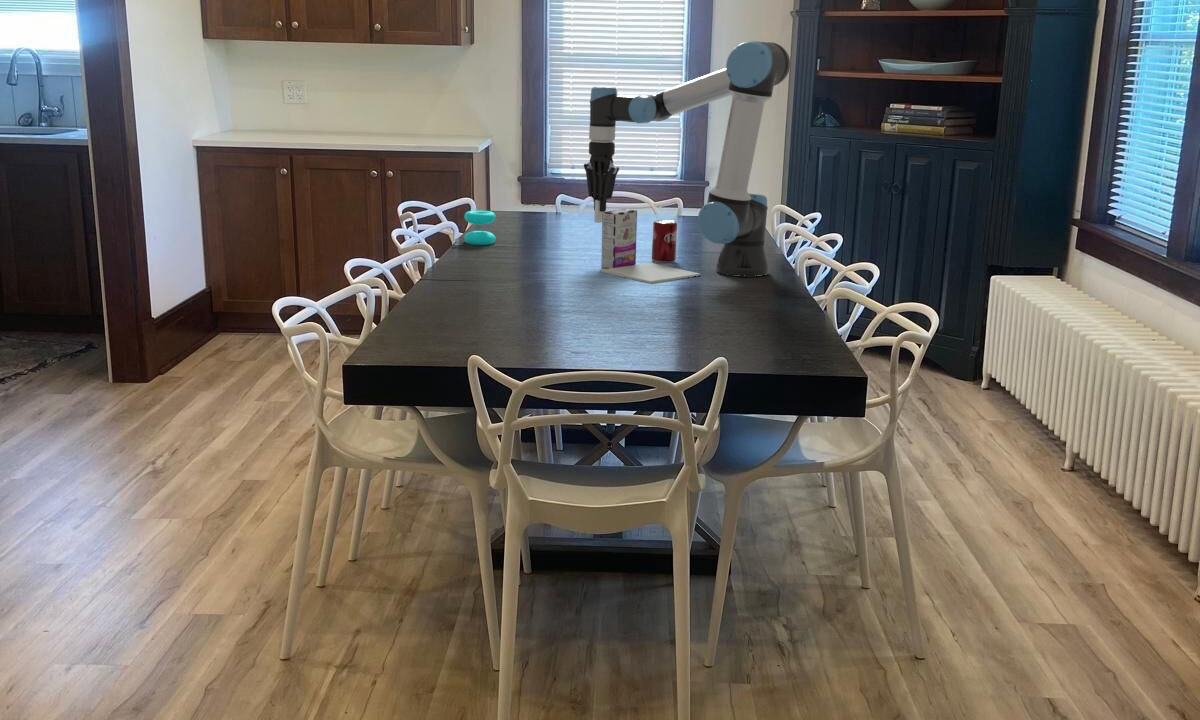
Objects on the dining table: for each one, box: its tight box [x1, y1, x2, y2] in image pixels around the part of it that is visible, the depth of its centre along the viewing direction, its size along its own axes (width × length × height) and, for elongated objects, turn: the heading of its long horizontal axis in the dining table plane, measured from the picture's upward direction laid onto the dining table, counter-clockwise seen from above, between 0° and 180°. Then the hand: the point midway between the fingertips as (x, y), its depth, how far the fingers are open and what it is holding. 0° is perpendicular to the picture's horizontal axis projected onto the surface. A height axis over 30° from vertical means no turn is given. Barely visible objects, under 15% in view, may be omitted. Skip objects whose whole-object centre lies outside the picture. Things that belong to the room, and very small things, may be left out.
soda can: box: [651, 219, 678, 264], centre depth 338 cm, size 7×7×12 cm
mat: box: [600, 262, 702, 284], centre depth 319 cm, size 20×20×1 cm
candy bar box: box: [600, 208, 638, 269], centre depth 326 cm, size 11×5×16 cm, turn 143°
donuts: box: [464, 210, 497, 246], centre depth 359 cm, size 10×10×10 cm
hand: (599, 222), depth 331 cm, fingers closed
